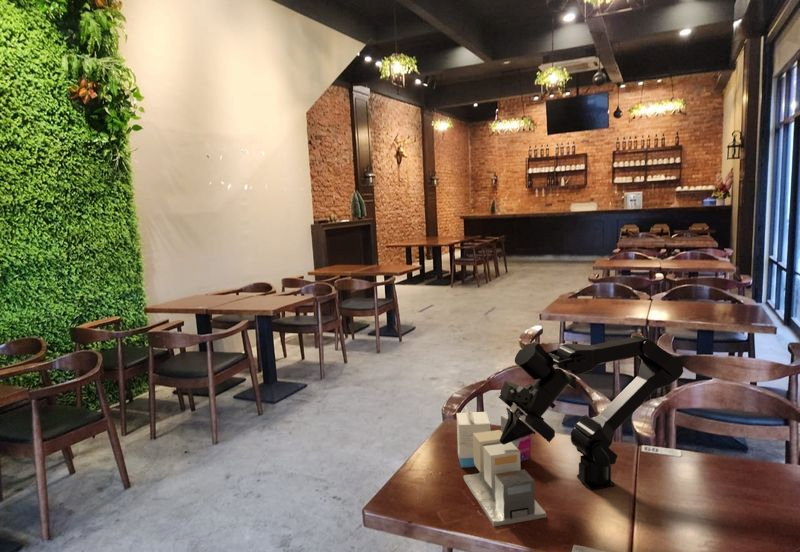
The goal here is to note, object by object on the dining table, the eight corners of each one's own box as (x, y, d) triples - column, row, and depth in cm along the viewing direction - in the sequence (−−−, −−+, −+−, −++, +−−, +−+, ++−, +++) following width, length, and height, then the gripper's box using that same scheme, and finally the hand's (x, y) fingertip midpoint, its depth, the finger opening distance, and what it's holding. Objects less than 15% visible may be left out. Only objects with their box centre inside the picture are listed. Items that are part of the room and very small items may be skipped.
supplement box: (514, 464, 136) (513, 422, 134) (500, 455, 141) (499, 415, 139) (531, 458, 138) (531, 417, 137) (517, 450, 143) (516, 410, 142)
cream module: (512, 473, 123) (511, 442, 122) (521, 484, 118) (520, 451, 117) (484, 477, 122) (483, 446, 121) (491, 488, 117) (491, 456, 116)
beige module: (500, 459, 130) (499, 429, 129) (508, 468, 125) (507, 438, 124) (473, 463, 129) (472, 433, 128) (480, 473, 124) (479, 442, 123)
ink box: (492, 466, 135) (491, 417, 133) (460, 467, 135) (458, 418, 134) (487, 451, 144) (486, 404, 142) (457, 452, 144) (455, 406, 142)
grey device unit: (508, 472, 132) (508, 439, 131) (546, 517, 112) (545, 479, 111) (463, 479, 130) (462, 445, 128) (493, 526, 110) (492, 487, 109)
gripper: (505, 358, 127) (463, 407, 126) (540, 382, 109) (492, 439, 108) (536, 385, 129) (495, 433, 129) (575, 414, 111) (528, 470, 110)
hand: (501, 442), depth 119 cm, fingers closed
